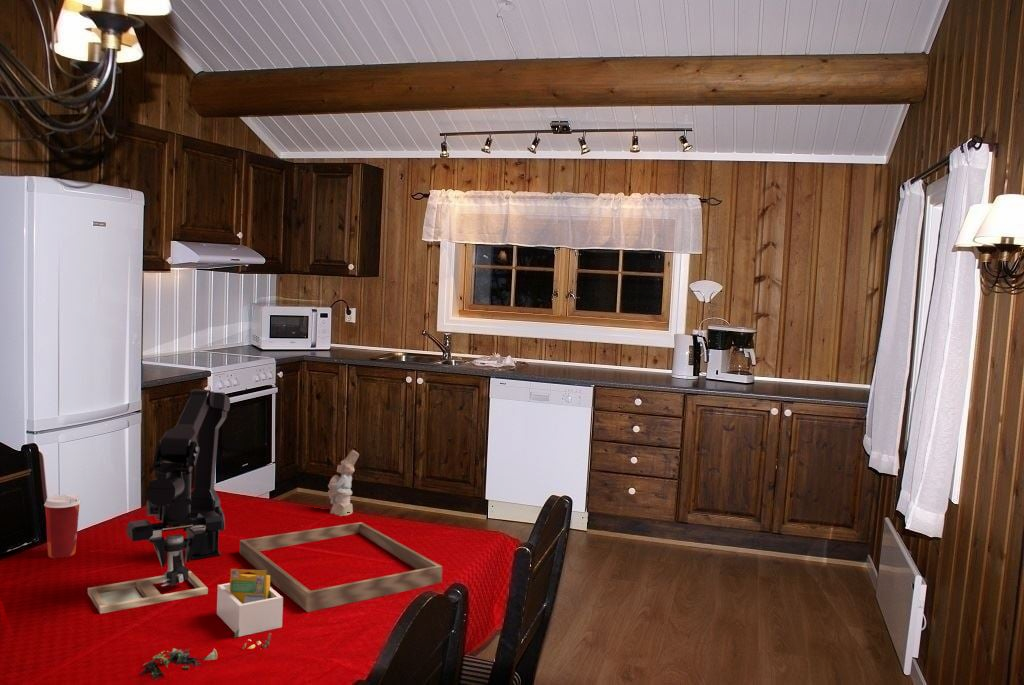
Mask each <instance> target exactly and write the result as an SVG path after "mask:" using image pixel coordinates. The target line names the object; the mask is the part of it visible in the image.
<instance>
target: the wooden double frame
mask: <svg viewBox="0 0 1024 685" xmlns="http://www.w3.org/2000/svg"><path fill="white" fill-rule="evenodd" d="M188 574H189V578H188V579H187V580H186V581H188V582H189V583H190V584H191V585H192V586H193V587H194V588H191V589H185V590H180V591H175V592H170V593H164V594H161V592H160V591H159V590H158V589H157V588H156V586H154V585H157V584H164V583H165V582H161V581H162V580H164V579H165V574H163V575H158V576H153V577H151V576H150V577H146V578H139V579H132V580H127V581H121V582H117V583H116V582H115V583H110V584H103V585H97V586H93V587H87V595H88V596H89V598H90V600H91V601H92V603H93V605H94V606H95V608H96V609H97V611H98V612H99V614H100V615H101V614H106V613H112V612H116V611H122V610H129V609H135V608H140V607H144V606H149V605H155V604H160V603H166V602H170V601H171V602H172V601H177V600H182V599H187V598H193V597H198V596H203V595H208V594H209V593H208V592H209V588H208V587H207V586H206V585H205V584H204V583H203V582H202V581H201V580H200V579H199V578H198V576H196V575H195V574H194V572H192V571H191V570H188Z"/></svg>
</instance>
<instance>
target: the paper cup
mask: <svg viewBox="0 0 1024 685" xmlns="http://www.w3.org/2000/svg"><path fill="white" fill-rule="evenodd" d="M81 503H82V501H81V500H80V497H79V496H78V495H76V494H57V495H52V496H50V497H47V498H46V500H45V503H44V504H43V506H44V507H45V522H46V541H47V542H46V543H47V544H46V545H47V556H48V558H52V559H64V557H65V558H69V557H72V556H73V555H75V553H76V550H77V539H78V538H77V537H78V527H79V526H78V525H79V513H80V504H81Z"/></svg>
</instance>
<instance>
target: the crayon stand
mask: <svg viewBox="0 0 1024 685" xmlns="http://www.w3.org/2000/svg"><path fill="white" fill-rule="evenodd" d="M216 594H217V596H216V615H217V616H218V617H219V618H220V619H221V620H222V621H223V623H224V624H226V625H227V626H228V627H229V629H231V631H232V632H233V633H234V634H235V633H236V631H237V630H239V634H238V637H237V638H240V637H243V636H248V635H253V634H256V633H262V632H267V631H271V630H275V629H280V628H282V627H283V612H284V611H283V610H284V606H283V605H284V597H283V596H282V595H280V593H278V592H277V591H276V590H275V589H273V587H272V586H270V591H269V599H264V600H259V601H254V602H249V603H244V604H242V603H241V602H240V601H239V600H238V599H237V598H236V597H235V596H233V595H232V594H231V593H230V582H227V583H222V584H217V593H216Z"/></svg>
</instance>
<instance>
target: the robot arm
mask: <svg viewBox="0 0 1024 685" xmlns="http://www.w3.org/2000/svg"><path fill="white" fill-rule="evenodd" d="M230 408H231V399H230V397H229V396H228V395H226V393H225V392H222V391H221V392H220V391H219V392H217V391H216V392H215V391H211V390H209V389H193V390H190V391H189V393H188V399H187V402H186V404H185V406H184V408H183V410H182V413H181V415H180V417H179V419H178V421H177V423H176V424H175V426H173V427H171V428H170V429H168V430H167V431H166V432H165V433H164V434H163V436H162V437H161V439H160V440H159V441H158V443H157V445H156V450H155V453H154V458H153V462H152V466H151V471H153V472H155V471H156V472H157V473H156V478H155V479H153V480H152V481H150V482H149V484H148V486H147V488H146V492H145V493H146V494H145V495H146V497H147V500H146V505H145V506H146V507H145V508H146V510H145V511H146V515H147V517H149V516H155V520H158V521H159V522H156V523H155V522H153V523H151V522H150V521H149V520H148V519H140V520H139V519H138V520H132V521H129V522H128V523H127V525H126V528H125V529H126V532H125V533H126V535H127V537H128V539H130V540H131V541H133V542H139V541H148V542H149V543H152V545H153V546H154V549H155V552H156V554H157V558H158V561H159V563H160V566H161V567H162V568H164V567H165V565H166V551H165V540H166V538H164V537H163V536H162V535H163V532H169V531H176V530H182V531H183V532H186V537H185V538H186V539H188V542H187V547H186V548H185V552H184V553H185V554H184V563H186V564H188V563H189V562H190V560H191V558H192V559H193V560H197V559H203V558H205V559H206V558H210V557H216V556H217V557H218V556H221V551H220V550H219V539H220V538H219V535H220V534H219V533H220V532H221V531H224V530H225V529H226V521H225V520H226V517H225V515H224V512H223V509H222V507H221V498H220V497H219V495H218V493H217V492H216V489H215V480H216V467H217V455H218V440H219V429H220V428H221V427H222V425H223V424H224V422H225V420H226V419H227V417H228V412H229V411H230ZM161 461H162V462H161ZM194 467H195V470H194V482H193V483H194V484H193V489H192V471H193V468H194ZM160 521H161V522H160Z"/></svg>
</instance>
